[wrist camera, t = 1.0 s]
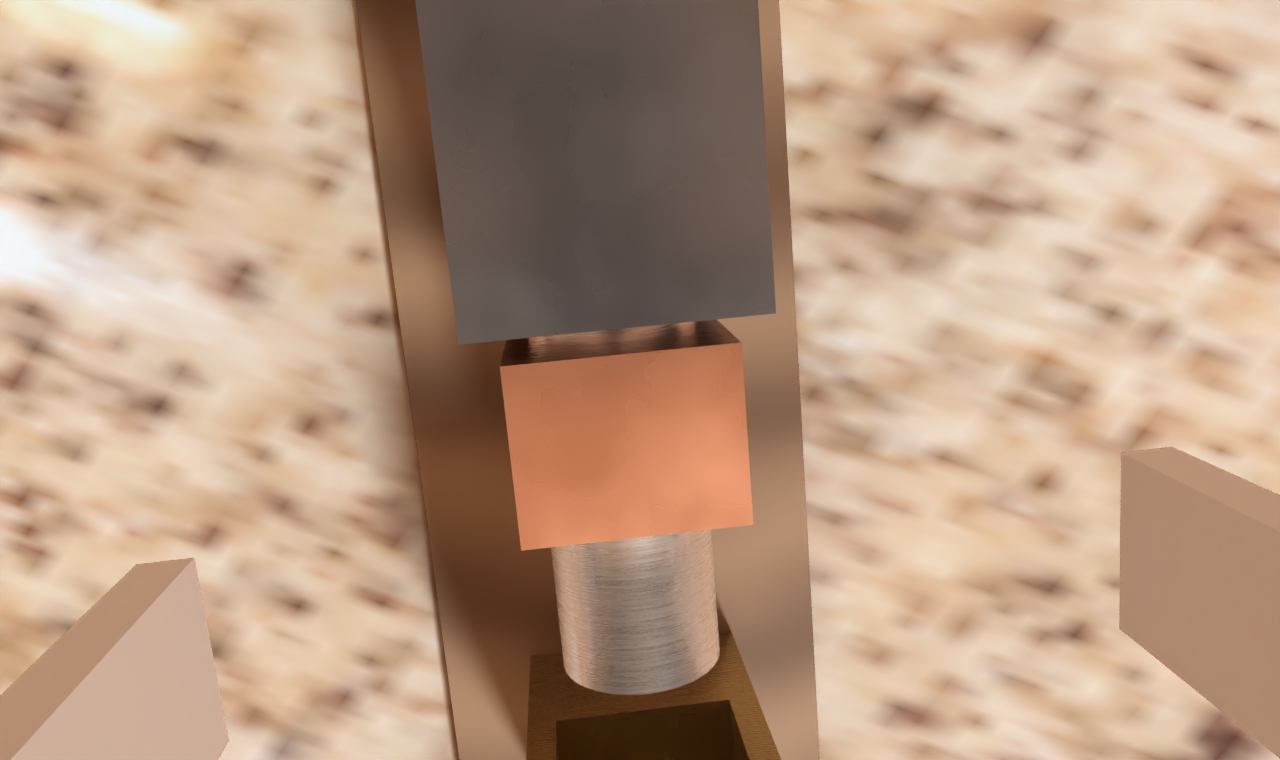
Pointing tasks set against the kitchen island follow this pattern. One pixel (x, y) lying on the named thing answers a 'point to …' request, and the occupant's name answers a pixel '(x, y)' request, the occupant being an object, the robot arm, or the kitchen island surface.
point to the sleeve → (599, 162)
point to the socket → (648, 716)
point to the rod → (630, 490)
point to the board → (480, 457)
